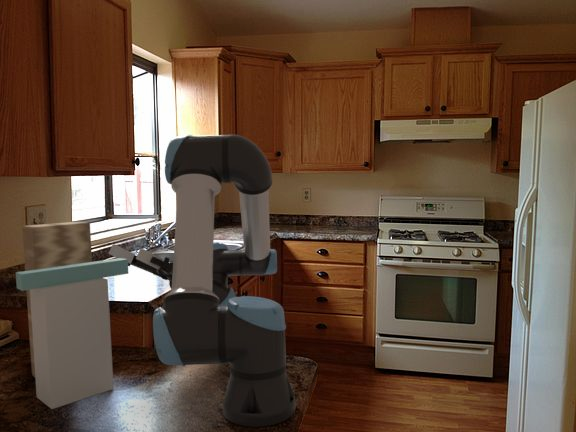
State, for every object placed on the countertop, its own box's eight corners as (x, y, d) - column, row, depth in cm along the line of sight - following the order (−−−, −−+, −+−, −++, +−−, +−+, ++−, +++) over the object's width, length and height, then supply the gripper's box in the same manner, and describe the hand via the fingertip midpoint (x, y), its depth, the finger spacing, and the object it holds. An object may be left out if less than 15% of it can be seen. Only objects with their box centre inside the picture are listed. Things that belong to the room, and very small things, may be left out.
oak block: (86, 360, 139) (78, 221, 136) (97, 366, 134) (89, 222, 131) (32, 375, 129) (22, 226, 126) (42, 382, 124) (32, 227, 121)
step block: (96, 378, 126) (90, 274, 124) (113, 388, 119) (107, 279, 117) (36, 397, 116) (29, 284, 114) (51, 409, 109) (44, 289, 107)
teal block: (121, 271, 126) (120, 257, 126) (128, 273, 124) (127, 259, 124) (16, 288, 110) (15, 272, 109) (22, 290, 107) (21, 274, 107)
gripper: (211, 301, 129) (144, 270, 115) (158, 288, 146) (94, 260, 132) (222, 274, 131) (158, 240, 117) (168, 264, 149) (107, 234, 135)
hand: (124, 251), depth 125 cm, fingers open, 13 cm apart
